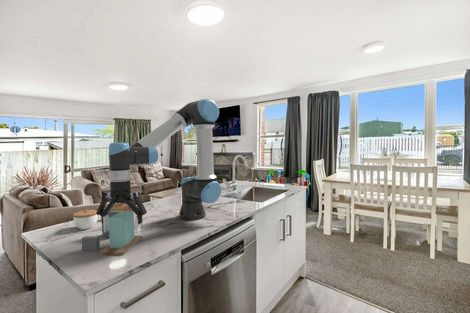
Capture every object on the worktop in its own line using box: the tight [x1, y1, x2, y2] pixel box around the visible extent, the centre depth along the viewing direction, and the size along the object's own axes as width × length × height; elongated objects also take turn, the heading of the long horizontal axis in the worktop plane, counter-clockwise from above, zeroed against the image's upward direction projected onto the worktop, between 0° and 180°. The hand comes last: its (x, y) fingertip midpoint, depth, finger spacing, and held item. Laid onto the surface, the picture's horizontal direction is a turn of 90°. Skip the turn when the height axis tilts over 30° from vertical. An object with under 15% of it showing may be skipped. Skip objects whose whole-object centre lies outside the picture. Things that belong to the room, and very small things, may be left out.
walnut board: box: [99, 235, 143, 256], centre depth 99 cm, size 9×16×1 cm, turn 176°
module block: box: [108, 211, 136, 248], centre depth 98 cm, size 5×10×12 cm, turn 176°
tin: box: [110, 203, 133, 211], centre depth 139 cm, size 15×3×8 cm, turn 139°
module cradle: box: [81, 211, 121, 252], centre depth 103 cm, size 10×17×11 cm, turn 176°
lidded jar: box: [72, 208, 99, 231], centre depth 122 cm, size 11×11×9 cm
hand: (122, 231), depth 98 cm, fingers open, 13 cm apart
